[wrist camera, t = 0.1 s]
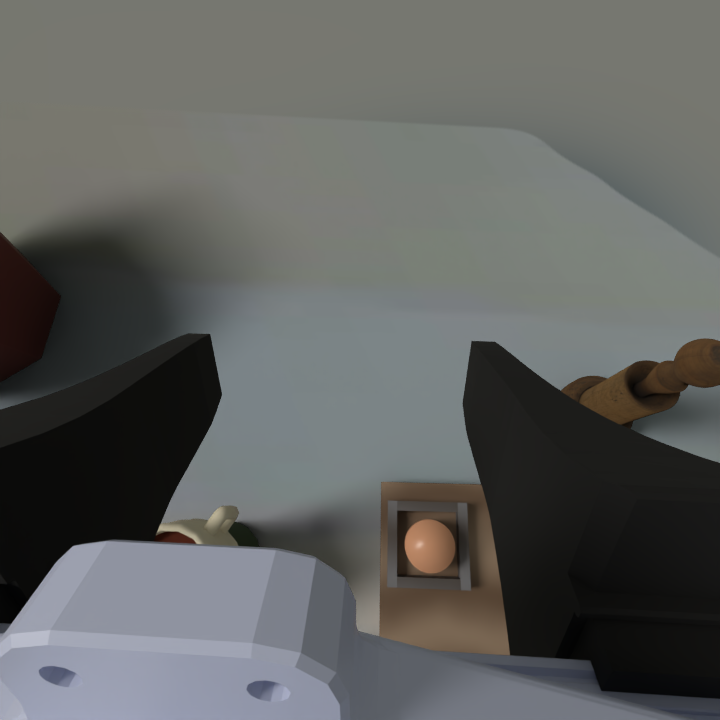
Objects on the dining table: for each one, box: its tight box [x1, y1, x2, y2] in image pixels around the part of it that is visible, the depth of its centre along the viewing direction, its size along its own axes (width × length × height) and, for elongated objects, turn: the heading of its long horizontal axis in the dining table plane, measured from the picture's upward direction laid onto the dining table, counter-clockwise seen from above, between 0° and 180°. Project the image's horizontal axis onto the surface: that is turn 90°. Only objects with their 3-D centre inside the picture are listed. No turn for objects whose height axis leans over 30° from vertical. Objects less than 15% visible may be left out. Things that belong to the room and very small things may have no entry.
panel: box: [380, 482, 510, 655], centre depth 37 cm, size 19×20×4 cm
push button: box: [404, 519, 455, 573], centre depth 36 cm, size 4×4×2 cm
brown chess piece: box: [561, 339, 720, 429], centre depth 34 cm, size 7×6×18 cm
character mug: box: [153, 506, 259, 547], centre depth 34 cm, size 11×7×13 cm, turn 146°
